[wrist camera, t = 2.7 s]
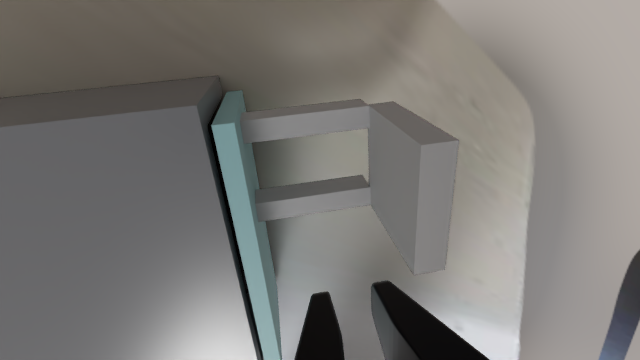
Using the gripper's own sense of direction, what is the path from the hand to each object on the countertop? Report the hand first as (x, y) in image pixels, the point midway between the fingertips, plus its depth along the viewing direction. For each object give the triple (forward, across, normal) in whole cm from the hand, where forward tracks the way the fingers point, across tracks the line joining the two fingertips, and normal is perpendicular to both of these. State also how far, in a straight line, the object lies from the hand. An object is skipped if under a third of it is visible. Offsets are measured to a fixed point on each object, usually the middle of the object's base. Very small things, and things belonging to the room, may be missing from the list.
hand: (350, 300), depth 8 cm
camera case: (+13, +10, +4) cm, 17 cm away
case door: (+13, 0, +4) cm, 13 cm away
